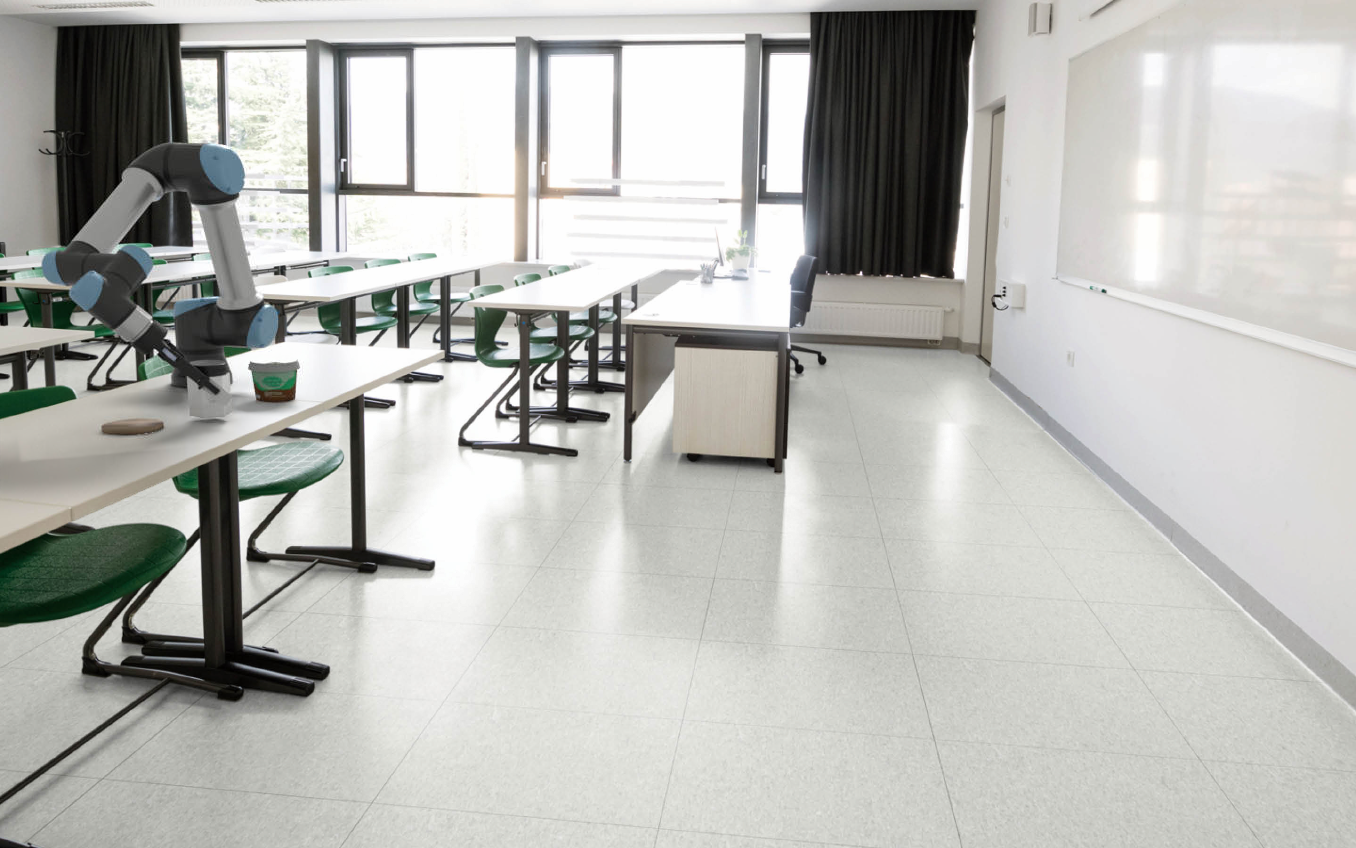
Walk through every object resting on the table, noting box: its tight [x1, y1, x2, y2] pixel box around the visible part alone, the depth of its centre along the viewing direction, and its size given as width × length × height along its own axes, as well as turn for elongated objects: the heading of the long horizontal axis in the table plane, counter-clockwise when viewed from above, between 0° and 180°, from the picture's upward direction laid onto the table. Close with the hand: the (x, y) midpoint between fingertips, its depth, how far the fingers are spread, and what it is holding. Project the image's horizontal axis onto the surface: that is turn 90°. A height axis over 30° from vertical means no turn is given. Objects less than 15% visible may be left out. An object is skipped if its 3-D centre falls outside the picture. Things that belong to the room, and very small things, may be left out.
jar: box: [187, 360, 233, 419], centre depth 231 cm, size 9×8×12 cm
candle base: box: [101, 418, 165, 436], centre depth 222 cm, size 12×12×1 cm
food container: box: [247, 359, 301, 404], centre depth 255 cm, size 12×6×10 cm, turn 117°
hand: (226, 397), depth 233 cm, fingers closed on jar, 7 cm apart
